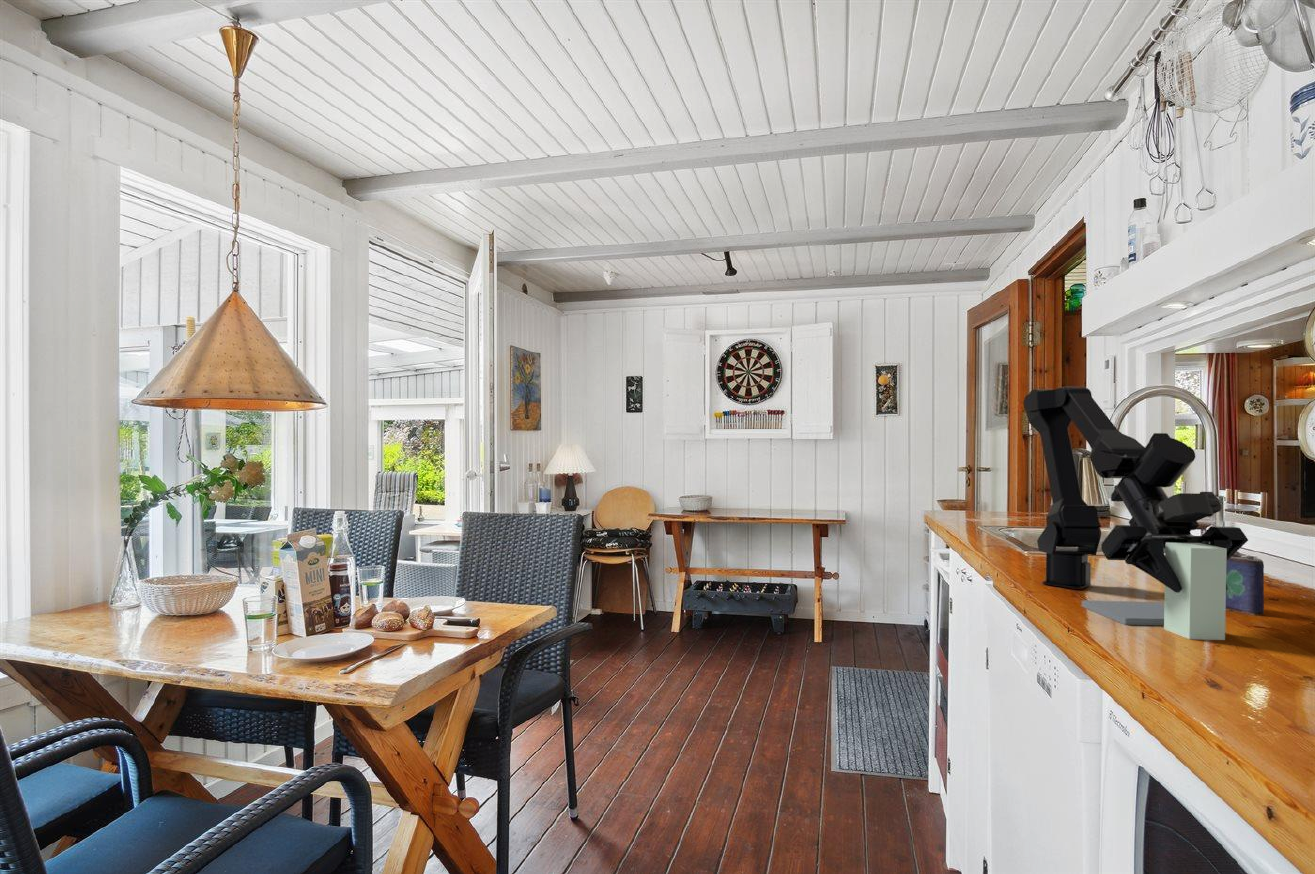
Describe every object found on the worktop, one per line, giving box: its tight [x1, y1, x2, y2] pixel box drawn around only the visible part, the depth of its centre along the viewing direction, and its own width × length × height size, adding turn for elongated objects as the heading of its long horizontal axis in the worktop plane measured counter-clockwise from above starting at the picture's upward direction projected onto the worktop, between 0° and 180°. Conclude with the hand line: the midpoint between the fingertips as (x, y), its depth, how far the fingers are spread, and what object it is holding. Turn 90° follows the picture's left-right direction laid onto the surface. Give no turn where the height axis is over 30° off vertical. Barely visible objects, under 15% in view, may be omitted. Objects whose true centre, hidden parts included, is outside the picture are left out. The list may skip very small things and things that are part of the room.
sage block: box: [1163, 542, 1227, 641], centre depth 100 cm, size 5×5×13 cm
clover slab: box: [1226, 551, 1265, 617], centre depth 115 cm, size 9×3×11 cm, turn 28°
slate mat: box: [1081, 600, 1164, 626], centre depth 110 cm, size 11×14×1 cm
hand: (1202, 591), depth 99 cm, fingers open, 6 cm apart
